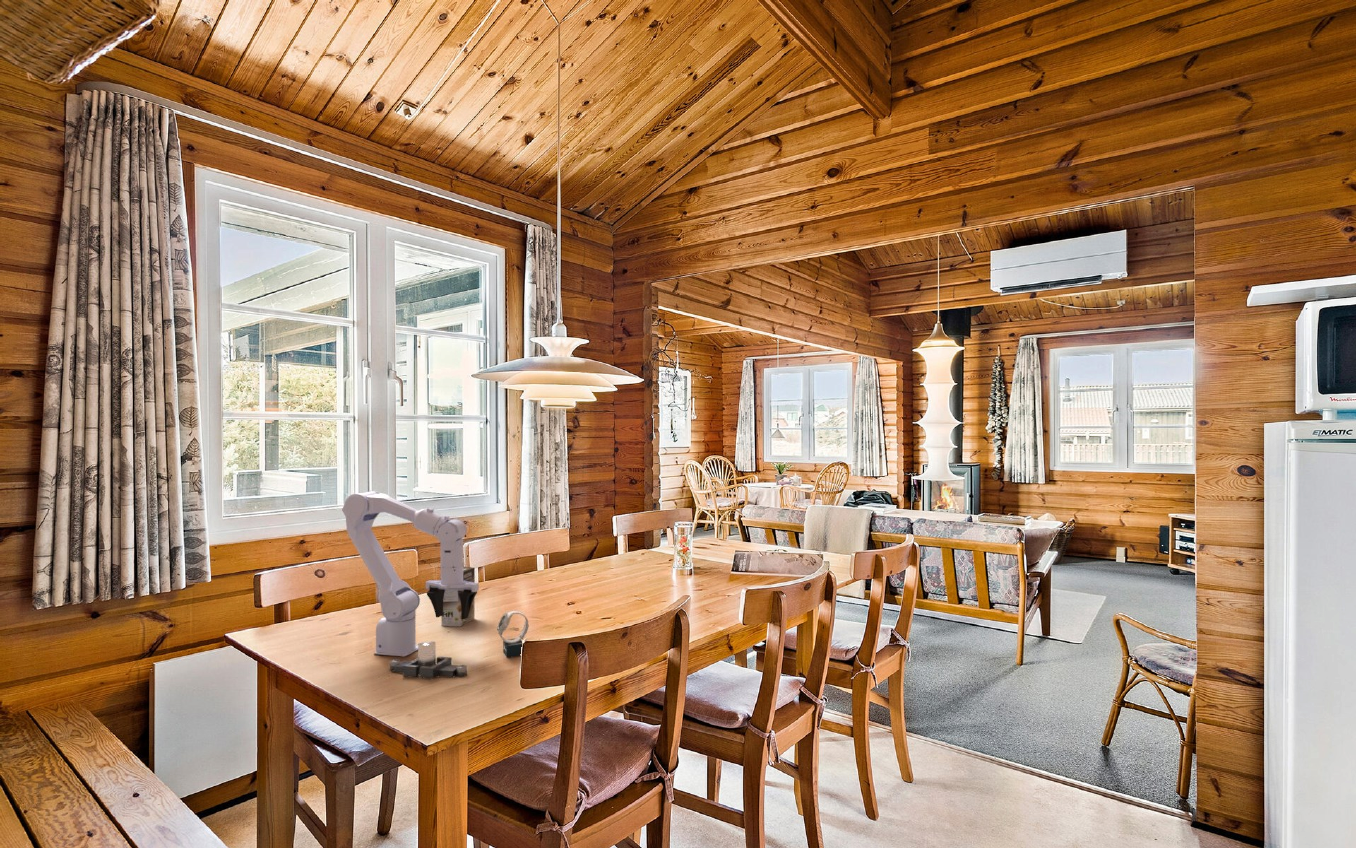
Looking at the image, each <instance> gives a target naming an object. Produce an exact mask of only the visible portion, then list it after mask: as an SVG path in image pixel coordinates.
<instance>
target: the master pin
mask: <svg viewBox="0 0 1356 848" xmlns="http://www.w3.org/2000/svg"><path fill="white" fill-rule="evenodd" d="M436 644H437V643H436V641H433V640H426V641H421V642H419V643H418V644H417V645H418V650H417V658H418V666H419V676H420V667H421V666H428V667H432V666H434V665H436V664H437V656H436V655H437V654H436V647H437V646H436Z"/></svg>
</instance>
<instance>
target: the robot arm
mask: <svg viewBox="0 0 1356 848" xmlns="http://www.w3.org/2000/svg"><path fill="white" fill-rule="evenodd" d="M341 511H342V512H343V515H344V516H345V525H346V533H347V534H348V537H349V538H350V540H351V542H352V544H353V545H354V547H355V549H356V550H357V552H358V554H359V556H360V558H361V560H362V561H363V563H364V565H365V566H366V568H367V570H368V572H369V574H370V575H371V577H372V579H373V580H374V582H375V583H376V585H377V587H378V589H379V592H378V598H377V599H378V601H379V603H380V608H381V614H382V615H383V617H382V618H380V619H379V621H378V622H377V625H376V627H375V628H376V629H375V651H374V653H373V654H374V655H383V656H392V657H407V656H409V655H411V654H412V653H413V654H414V653H415V652H416V651H417V652H418V644H417V643H416V642H417V641H416V636H417V635H416V610H417V609H418V608H419V606H420V605H421V604H420V602H421V598H420V595H419V593H418V591H415V590H414V589H413V588H411V586H410V584H409V583H408V582H406V581H404V580H403V579H401V578H400V577H399V575H398V573H397V572H396V570H395V568H394V566H393V565H392V563H391V561H390V560H389V558H388V555H387V554H386V553H385V551H384V549H383V547H382V546H381V544H380V543H379V541H378V539H377V537H376V535H375V534H374V532H373V530H372V528H373V525H374V521H375V520H376V518H377V517H378V515H380V513H387V514H390V515H392V516H396V517H398V518H400V519H403V520H407V521H409V522H411V523H412V524H413V527H414V529H416V530H418V531H421V532H423V533H425V534H428V535H431V536H432V537H435V538H436V539H437V540H438V542H439V543H440V580H428V581H425V590H428V591H427V592H426V595H427V597H428V599H429V600H430V602H431V604H432V607H433V610H434V614H435V618H440V617H441V616H442V615H443V599H444V593H445V590H461V591H464V592H461V593H459V597H460V601H461V616H462V619H466V618H468V616H469V611H470V607H471V604H472V602H473V599H474V597H476V595H478V591H479V589H480V588H479V587H480V586H479V585H480V584H479V582H475V583H473V582H467V581H463V567H464V538H465V537H466V534H467V526H466V523H465V522H464V521H463V520H461V519H459V518H456V517H455V518H452V519H451V518H450V516H449V515H442V514H439V513H437V512H435V510H434V508H431V507H428V508H426V507H425V508H422V509H420V510H418V509H416V508H414V507H412V506H410V505H408V504H406V503H404V502H401V501H400V500H397V499H396V498H394V497H391V496H389V495H388V494H387V493H383V492H382V493H381V492H379V491H377V490H370V491H366V492H362V493H353V494H350V495H349V496H347V498H346V499H345V501H344V504H343V507H342V510H341Z"/></svg>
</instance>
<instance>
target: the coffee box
mask: <svg viewBox="0 0 1356 848" xmlns="http://www.w3.org/2000/svg"><path fill="white" fill-rule="evenodd" d="M475 569H476V567H469V566H467V567H466V566H463V581H467V582H473V583H476V581H475V580H476V579H475V578H476V576H475V574H476V571H475ZM461 592H464V591H461V590H445V593H444V599H443V615H442V616H440V617H441V620H440V621H441V622H440V623H441V626H442V627H443V626H446V627H457V626H459V627H462V626H463V624H464V625H465V624H467V623H470V622H471V621H473V620H474V619H475V618H476V617H475V613H476V612H475V611H476V610H475V603H476V601H475V599H476V598H475V597H476V596H475V597H474V599H473V602H472V604H471V607H470V611H469V616H468V618H466V619H462V616H461V601H460V597H459V593H461Z"/></svg>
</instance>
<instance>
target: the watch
mask: <svg viewBox="0 0 1356 848" xmlns="http://www.w3.org/2000/svg"><path fill="white" fill-rule="evenodd" d="M513 615H520V616H522V617H523V618H524V620H525V621H524V624H523V627H522V630H521V631H520V633H519V636H518V637H516V638H508V639H507V638H505V637H503V636H502V635H503V633H504V632H505V631H506V630H507V628H508V626H509V625H510V622H511V618H512V617H513ZM529 627H530V625H529V620H528V618H527V616H526V615H525V614H524V613H523V612H521V611H520V610H510V611H508V612H505V613H504V614H503V615H502V616H501V618H500V619H499V621H498V625H497V627H496V630H497V632H498V635H499V637H500V638H501V640H502V645H503V646H502V647H503V648H502V652H503V654H504V656H505V657H506V659H510V658H516V657H517V658H518V657H521V656H520V654H521V647H522V642H523V641H522V640H523V639H524V638H525V636H526V634H527V633H528V630H529Z"/></svg>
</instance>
